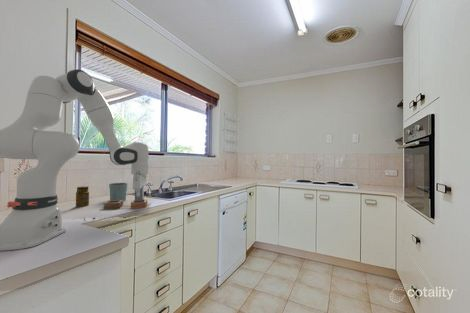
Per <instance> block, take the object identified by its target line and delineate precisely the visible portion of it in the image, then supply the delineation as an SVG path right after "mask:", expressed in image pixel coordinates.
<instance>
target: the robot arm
mask: <svg viewBox="0 0 470 313" xmlns="http://www.w3.org/2000/svg"><path fill="white" fill-rule="evenodd" d="M75 100H76V101H78V102H79V103H80V104H81V105H82V108H83V110H84V112H85V114H86V116H87V117H88V119H89V121H90V122H91V124H92V125H93V126H94V127H95V128H96V129H97V130H98V132H99V133H100V135H101V136H102V138H103V139H104V142H105V144H106V146H107V147H108V150H109V158H110V161H111V163H113V164H114V165H116V166H127V165H130V166H131V168H130V170H131V171H130V172H131V175H132V176H133V177H132V190H133V191H135V190H136V193H137V196H140V194H141V193H140V190H141V188H142V185H143V184H144V186H145V185H146V183H147V176H148V175H149V147H148V144H146V142H145V143H144V142H140V141H134V142H131V143H130V144H128V145H125V146H123V145H122V144H121V143H120V141H119V138H118V136H117V134H116V132H115V117H114V114H113V111H112V109H111V107H110V105H109V104H108V102H107V100H106V99H105V97H104V96H103V94H102V93H101V92H100V91H99V89H97V88H96V85H95V83H94V80H93V78H92V76H90V75H89V73H88V72H86V71H84V70H82V69H79V68H77V69H71V70H69V71H68V72H66V73H64V74H61V75H58V76H57V77H55V78H54V77H53V76H49V75H39V76H36V77H34V79H33V80H32V82H31V83H30V85H29V89H28V91H27V94H26V99H25V104H24V107H23V109H22V113H21V114H20V115H19V117H18V118H17V119H16V120H15V121H14V122H13V123H11V124H9V125H7V126H6V127H3V128H1V129H0V158H4V159H11V160H37V165H36V166H35V167H33V168H30V169H27V170H25V171H23V172H21V173H20V174H19V175H18V176H17V179H16V197H15V198H14V199H13V201H8V202H7V203H6V207H7V208H8V209H9V208H11V209H12V210H11V211H10V213H8V215H7V216H6V217H5V218H4V220H2V222H0V251H2V252H3V251H13V250H14V251H15V250H22V249H27V248H33V247H37V246H38V245H40V244H43V243H45V242H47V241H48V240H51V239H53V238H54V237H57V236H59V235H61V234H63V233H66V231H67V230H66V228H65V227H63V222H62V221H63V219H62V211H61V209H60V208H59V207H58V205H57V204H58V194H57V183H58V182H57V181H58V175H59V173H60V170H61V168H62V167H63V166H64V165H65V164H66V163H67V162H69V161H70V160H71V159H73V158H75V157H76V156H77V155H78V153H79V152H80V147H81V146H80V141H79V139H78V138H77V137H76V135H74V134H71V133H67V132H62V131H54V130H51V131H50V130H45V129H48V128H50V127H53V126H55V125H57V124H58V123H59V122H60V120H61V118H62V111H63V104H68V103H70V102H72V101H75Z"/></svg>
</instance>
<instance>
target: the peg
mask: <svg viewBox="0 0 470 313" xmlns="http://www.w3.org/2000/svg"><path fill="white" fill-rule="evenodd" d="M144 188H145V185H144V184H143V185H142V188H141V190H140V193H141V194H140V196H137V193H136V190H134V200H135V202H143V200H144V198H145V197H144V195H145V194H144V193H145V190H144Z"/></svg>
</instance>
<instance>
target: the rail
mask: <svg viewBox="0 0 470 313" xmlns="http://www.w3.org/2000/svg"><path fill="white" fill-rule="evenodd" d="M150 206H151V203H148V199H146V198H145V199H144V200H143V202H135V199H133V200H132V201H131V202H130V203H129V204H128V203H127V204H126V203H124V201H123V200H110V199H109V200H107V201H105V202H104V203H103V207H101V208H100V209H99V211H113V210H115V211H116V210H117V211H118V210H136V209H139V210H140V209H149V208H150Z"/></svg>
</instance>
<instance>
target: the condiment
mask: <svg viewBox="0 0 470 313" xmlns="http://www.w3.org/2000/svg"><path fill="white" fill-rule="evenodd" d="M89 205H90V191H89V186H85V185H84V186H78V187H76V192H75V207H77V208H83V207H88V206H89Z"/></svg>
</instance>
